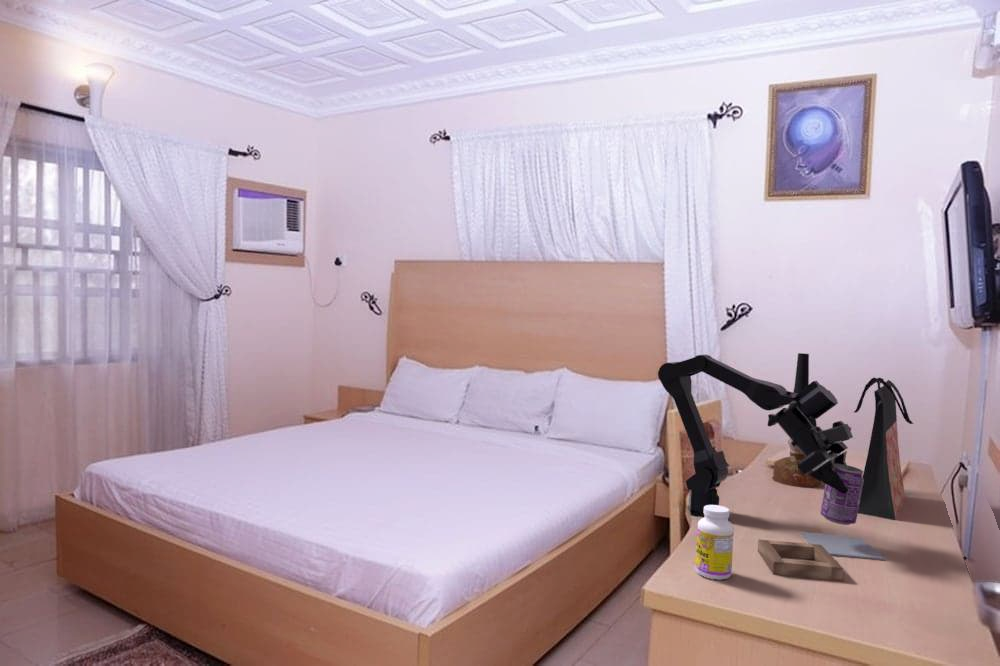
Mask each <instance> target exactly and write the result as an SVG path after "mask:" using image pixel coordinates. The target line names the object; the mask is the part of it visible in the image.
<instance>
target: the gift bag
mask: <svg viewBox="0 0 1000 666" xmlns="http://www.w3.org/2000/svg"><path fill="white" fill-rule="evenodd" d="M876 383H877V389H876V390H874V391H873V393H874V400H875V405H874V407H875V409H874V410H875V411H874V419H873V424H872V430H871V435H870V441H869V446H868V451H867V457H866V461H865V465H864V470H863V474H862V475H863V479H864V483H863V488H862V493H861V498H860V504H859V509H858V514H861V515H862V514H863V515H866V516H873V517H876V516H877V517H876V518H881V517H882V518H881V519H888V520H891V521H892V520H893V521H896V520H897V518H898V516H899V514H900V512H901V510H902V507H903V505H904V502H905V500H906V499H907V498H906V493H905V486H904V481H903V480H904V479H903V474H902V473H903V472H902V467H901V461H900V450H899V449H900V448H899V447H900V446H899V435H898V421H897V407H898V408H899V409H898V410H899V411H900V413H901V416H902V417H903V419H904V420H905V422H907V423H908V424H909V425H914V422H913V421H911V419H910V417H909V414H908V411H907V410H908V409H907V407H906V404H905V401H904V398H903V396H902V395H901V393H900V390H899V389H898V388H897V386H896V385H895V384H894V382H892V381H891V380H890V379H888V380H886V381H885V379H883V378H882V377H877V378H876V377H872V378H871V379H870V380H869V381H868V382H867V383H866V384H865V386H864V389H863V391H862V392H861V396H860V398H859V400H858V403H857V406H856V409H855V410H854V411H853V413H858V412H859V411H860V410H861V407H862V405H863V402H864V398H865V396H866V393H867V391H868V390H869V388H871V387H872V386H873V385H874V384H876ZM881 384H882V385H883V386H881ZM896 394H897V395H896ZM897 396H898V398H897ZM898 399H899V400H900V402H899V400H898ZM900 403H901V404H900ZM905 498H906V499H905ZM900 509H901V510H900Z"/></svg>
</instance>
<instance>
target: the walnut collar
mask: <svg viewBox="0 0 1000 666" xmlns="http://www.w3.org/2000/svg"><path fill="white" fill-rule="evenodd" d="M757 552H758V554H759V555H760V557H761V558H762V560H763V561H764V563H765V564H766V566H767V567H768V569H769V571H770V572H771V574H772V575H776V576H786V577H787V576H788V577H795V578H796V577H797V578H798V577H799V578H806V579H807V578H808V579H809V578H810V579H817V580H818V579H819V580H820V579H821V580H827V581H828V580H830V581H831V580H832V581H841V582H843V573H844V567H843V566H842V565H841V564H840V563H839V562H838V561H837V560H836V559H835V558H834V556H831V555H830V554H829V553H828V552H827V551H826V550H825V548H824V547H823V546H822V545H818V544H809V543H807V542H806V543H805V542H803V543H802V542H794V541H793V542H792V541H782V540H781V541H780V540H769V539H760V538H759V539H757ZM782 557H783V558H782ZM785 557H788V558H790V559H787V558H786V559H785ZM791 558H797V559H791ZM798 559H799V560H798ZM800 559H807V560H800ZM810 560H811V561H810ZM812 560H813V561H812Z"/></svg>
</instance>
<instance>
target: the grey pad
mask: <svg viewBox="0 0 1000 666" xmlns="http://www.w3.org/2000/svg"><path fill="white" fill-rule="evenodd" d="M800 535H801V536H802V537H803V538H804V539H805V541H806V542H807V543H808V544H818V545H822V546H823V547H824V548H825V550H826V551H827V552H828V553H829V554H830V555H831V556H832V557H844V558H845V557H846V558H853V559H867V560H878V561H886V557H884V556H883V555H882V554H881V553H880V552H879V551H878V550H876V549H875V548H874V547H873V546H871V545H870V543H868V542H867V541H866V540H865V539H863V537H859V536H850V535H838V534H828V533H827V534H824V533H814V532H802V531H801V532H800Z"/></svg>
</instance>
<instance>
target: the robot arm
mask: <svg viewBox="0 0 1000 666" xmlns="http://www.w3.org/2000/svg"><path fill="white" fill-rule="evenodd" d="M702 372H703V373H704V374H706V375H708V376H709V377H712V378H714V379H716V380H718V381H720V382H721V383H724V384H726V385H728V386H729V387H731V388H733V389H735V390H738V391H739V392H741V393H742V394H744V395H745V396H746V397H747V398H748V399H749V400H750V401H751V402H753V404H755V405H756V406H757V407H759V408H761V409H762V410H764V411H773V410H777V409H780V410H779V411H778V412H776V413H770V414H768V419H767V420H768V421H767V427H773V426H775V425H777V424H778V425H779V427H780V428H781V429H782V430H783V431H784V433H785V434H786V435H787V436H788V437H789V439H791V440H792V441H793V442H791V444H792V445H793V446H797V447H798V448H799V449H800V450H801V452H802V453H803V454H804V455H805V457H804V459H802V460H801V461H799V462H798V469H799V470H800V472H801V473H802V474H803V475H805V474H807V473H808V472H809V471H811V470H813V472H812V473H810V474H809V476H812V477H814V478H816V479H818V480H820V483H821V482H822V483H823V484H825V485H826V484H827V485H829V486H831V487H833V488H834V489H836V490H838V491H840V492H842V493H844V494H845V493H846V492H848V489H847V488H846V486H845V484H844V483H843V481H842V480H841V478H840V477H839V475H838V474H837V472H836V470H835V469H834V464H843V465H848V464H847V462H846V457H847V454H848V451H847V449H848V446H847V445H846V444H845V441H848V440H851V439H853V438H854V437H853V433H852V427H850V426H849V424H848V423H846V424H845V423H844V421H842V420H838V421H835V422H833V423H832V427H830V428H827V429H823V428H821V427H820V426H818V425H817V426H816V427H814V426H813V425H812V424H811V422H810V421H809V420H808V419H807V418H806V417H805V416H807V417H808V418H811V417H813V418H815V419H816V420H817V419H819V418H820V417H822V416H823V415H824V414H826V413H827V412H829V411H830V410H831V409H833V408H834V407H836V406H837V405H838V403H839V402H838V399H837V397H836V396H835V394H833V392H831V391H830V390H828V389H827V388H826V387H825V386H823V385H822V384H820V383H819V382H818V381H817V380H813V381H811V382H809V385H808V387H807V388H805V389H804V390H803V391H801V392H800V393H799V394H797V393H793V392H792V391H789V390H787V389H786V387H784V386H783V385H781V384H778V383H775V382H771V381H768V380H763V379H758V378H755V377H752V376H750V375H748V374H747V373H744V372H742V371H740V370H738V369H736V368H734V367H731V366H730V365H728V364H726V363H724V362H721V361H719V360H717V359H715V358H714V357H712V356H711V355H710V354H697V355H696V356H694V357H692V358H687V359H685V360H681V361H673V362H672V361H671V362H665V363H663V364H661V366H660V367H659V368H658V371H657V378H658V380H659V382H660V383H661V384H662V387H663V389H664V390H665V391H666V392H667V393H668V394H669V395H670V397H672V399H673V401H674V403H675V406H676V409H677V411H678V413H679V414H678V415H679V416H680V420H681V422H682V424H683V428H684V431H685V432H686V435H687V438H688V440H689V442H690V445H691V449H692V452H693V469H694V474H693V475H691V476H690V477H689V478H688V479H686V480H685V485H686V487H687V490H688V491H689V492H688V493H689V495H688V496H689V497H688V498H689V499H688V505H687V511H688V512H689V514H690V515H691V516H701V517H703V516H704V517H705V515H704V513H703V512H704V506H706V505H719V506H720V496H719V494H718V489H717V488H719V487H720V486H721V483H722V482H724V481H725V480H726V479H727V478H728V475H729V468H728V467H730V464H729V463H728V462H727V459H726V456H725V453H724V450H720V451H717V450H716V449H715V447H713V445H712V442H711V441H710V438H709V435H708V432H707V430H706V428H705V425H704V423H703V420H702V416H701V414H700V412H699V410H698V407H697V405H696V404H697V403H696V402H695V398H694V397H693V396H694V395H693V394H692V382H693V380H692V376H695V375H697V374H700V373H702ZM792 403H797V404H795V405H794V406H793V407H791V408H790V409H788V407H784V406H789V404H792ZM798 408H799V409H800V410H801V411H800V410H799V409H798ZM845 450H846V451H845Z"/></svg>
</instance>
